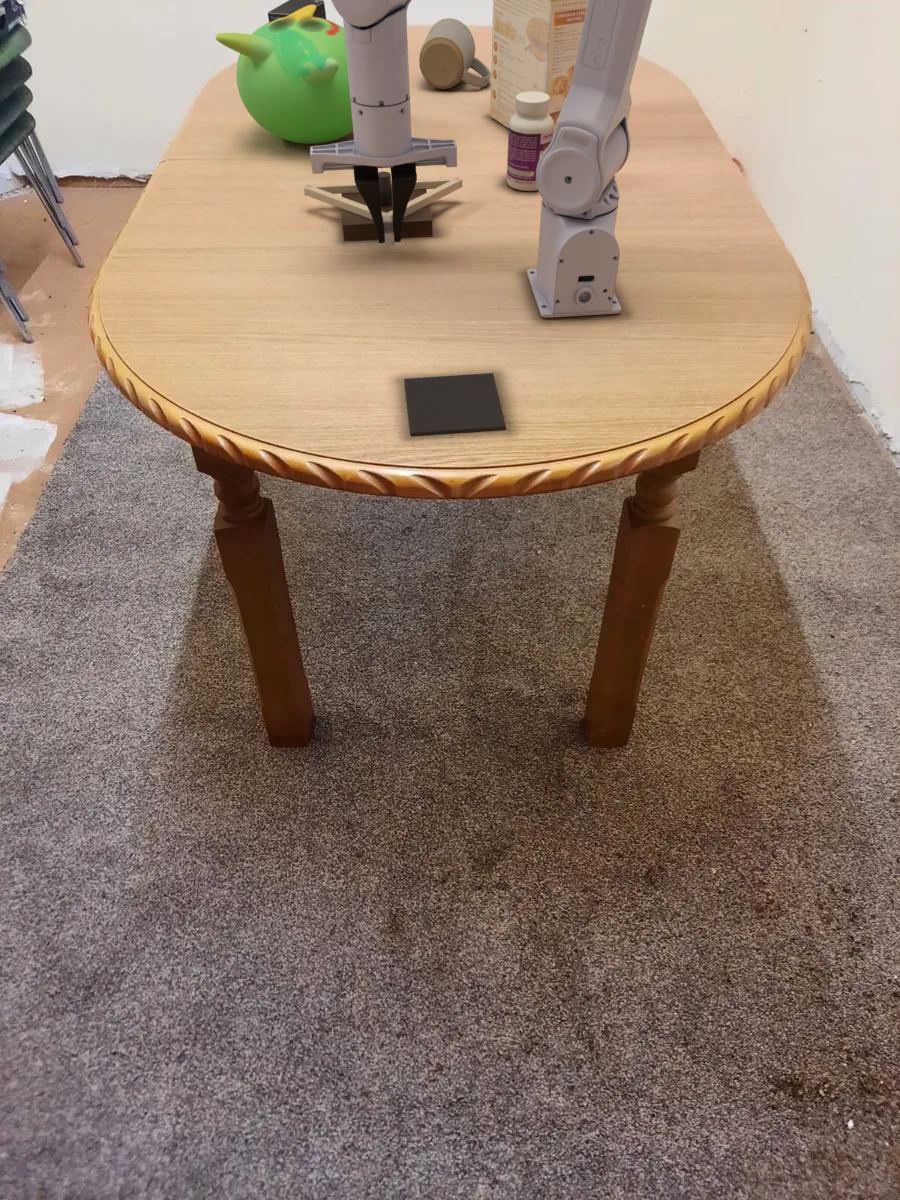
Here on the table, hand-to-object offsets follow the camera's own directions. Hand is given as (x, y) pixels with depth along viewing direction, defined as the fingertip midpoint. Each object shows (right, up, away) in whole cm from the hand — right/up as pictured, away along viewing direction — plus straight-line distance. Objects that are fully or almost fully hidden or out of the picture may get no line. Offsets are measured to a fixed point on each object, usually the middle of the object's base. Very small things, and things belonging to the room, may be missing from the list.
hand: (389, 238), depth 89 cm
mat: (+7, -22, -17) cm, 29 cm away
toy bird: (-12, +24, +24) cm, 36 cm away
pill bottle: (+16, +13, +14) cm, 25 cm away
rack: (-1, +5, +7) cm, 9 cm away
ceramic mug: (+7, +41, +39) cm, 58 cm away
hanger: (-1, +4, +4) cm, 6 cm away
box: (-16, +40, +39) cm, 58 cm away
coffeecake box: (+18, +26, +26) cm, 41 cm away
